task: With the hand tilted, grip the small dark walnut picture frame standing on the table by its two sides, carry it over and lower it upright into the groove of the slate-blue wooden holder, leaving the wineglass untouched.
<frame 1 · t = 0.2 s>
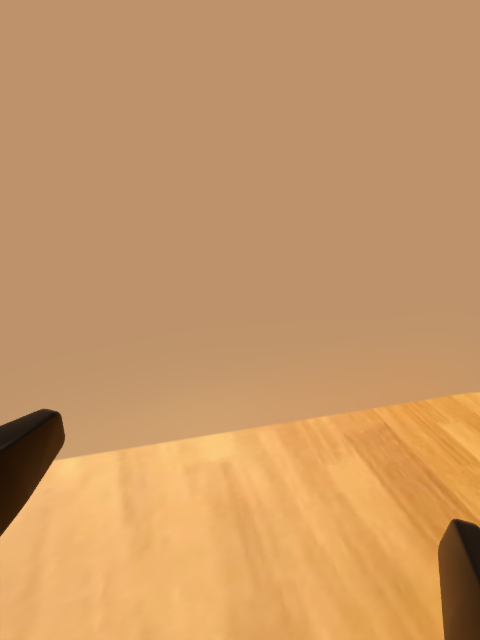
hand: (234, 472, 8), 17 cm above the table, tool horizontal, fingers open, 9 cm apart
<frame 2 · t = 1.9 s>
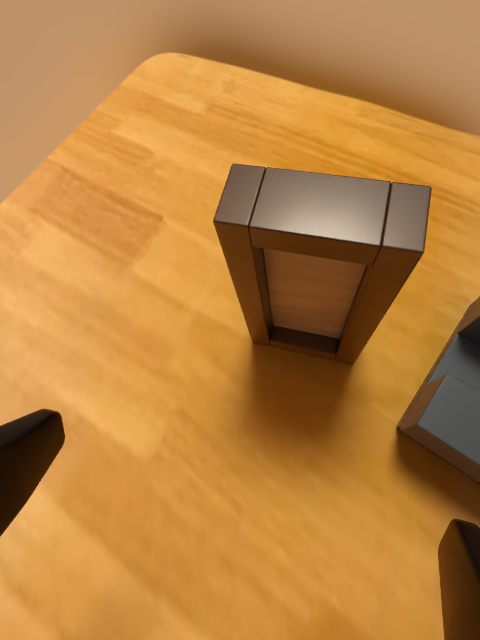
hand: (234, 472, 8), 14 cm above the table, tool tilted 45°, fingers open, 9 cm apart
frame: (305, 335, 24), on the table
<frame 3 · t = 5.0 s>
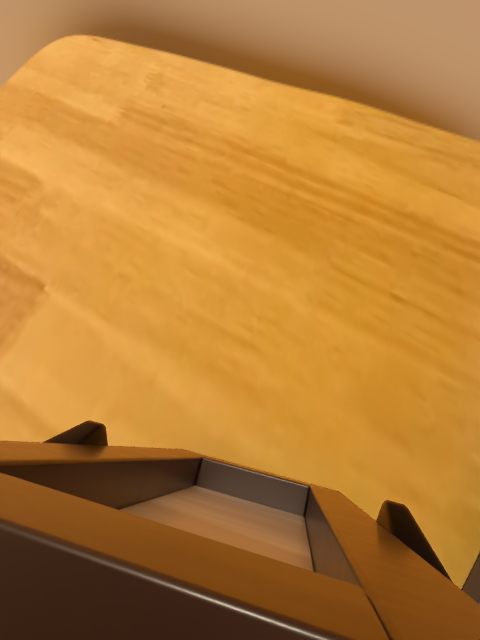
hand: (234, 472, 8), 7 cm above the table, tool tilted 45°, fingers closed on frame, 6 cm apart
frame: (250, 502, 14), on the table, touching gripper
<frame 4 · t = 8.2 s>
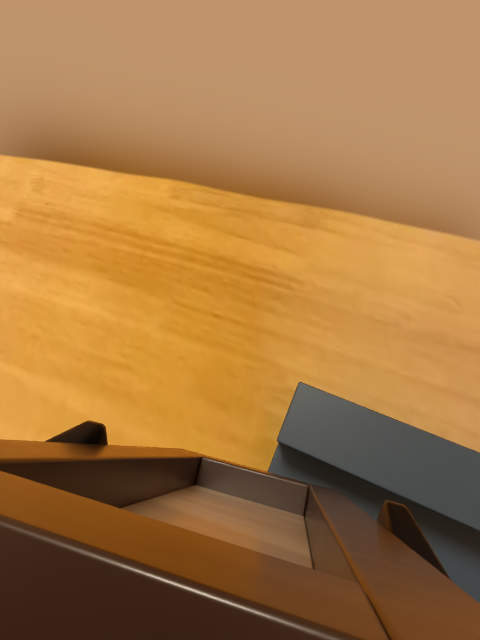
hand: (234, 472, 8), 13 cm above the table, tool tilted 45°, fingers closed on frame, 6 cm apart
frame: (249, 502, 14), point 7 cm above the table, touching gripper
holder: (375, 525, 19), on the table
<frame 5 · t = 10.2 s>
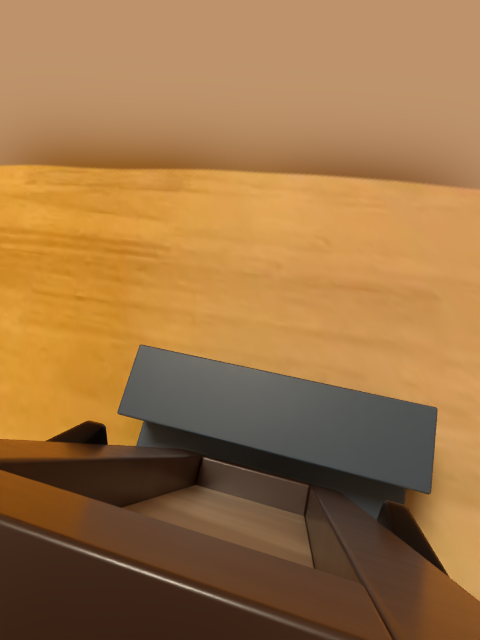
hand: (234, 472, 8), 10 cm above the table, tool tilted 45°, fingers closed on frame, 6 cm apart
frame: (250, 501, 14), point 3 cm above the table, touching gripper
holder: (259, 491, 17), on the table
when the fingers open (8 cm above the table, at t = 11.4 s): frame stays where it is, resting on holder.
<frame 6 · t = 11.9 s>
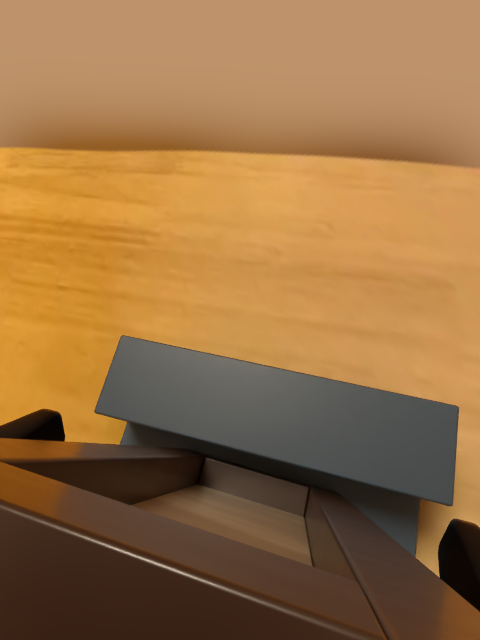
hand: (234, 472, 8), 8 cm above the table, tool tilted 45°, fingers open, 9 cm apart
frame: (251, 501, 14), point 1 cm above the table, touching holder
holder: (255, 499, 16), on the table
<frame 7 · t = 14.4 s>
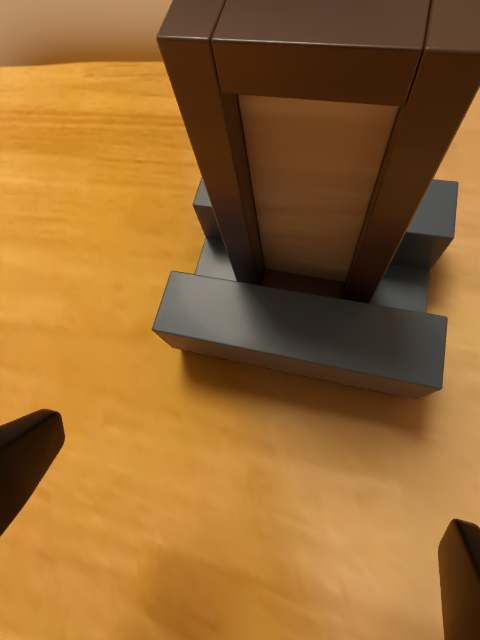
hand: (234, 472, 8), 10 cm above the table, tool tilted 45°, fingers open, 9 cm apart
frame: (304, 282, 19), point 1 cm above the table, touching holder
holder: (304, 292, 21), on the table
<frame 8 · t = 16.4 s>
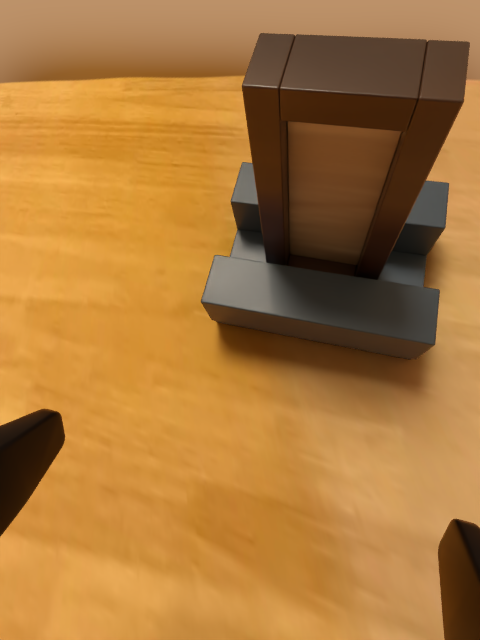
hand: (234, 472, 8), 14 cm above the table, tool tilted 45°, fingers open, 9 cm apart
frame: (321, 266, 23), point 1 cm above the table, touching holder
holder: (321, 275, 24), on the table
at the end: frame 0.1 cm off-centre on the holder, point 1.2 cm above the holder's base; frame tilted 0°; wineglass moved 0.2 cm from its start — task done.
